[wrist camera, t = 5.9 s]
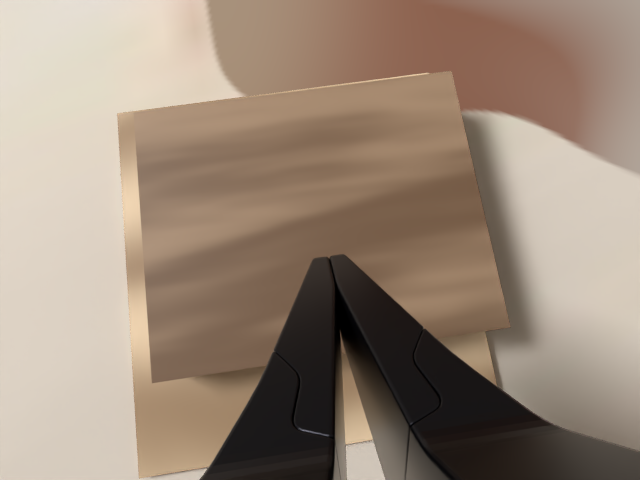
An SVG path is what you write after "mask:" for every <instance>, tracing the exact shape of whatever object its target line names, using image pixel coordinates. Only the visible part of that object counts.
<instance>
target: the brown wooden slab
mask: <svg viewBox="0 0 640 480" xmlns="http://www.w3.org/2000/svg"><path fill="white" fill-rule="evenodd" d="M134 127H135V142H136V156H137V171H138V186H139V201H140V216H141V230H142V245H143V260H144V275H145V289H146V304H147V319H148V334H149V349H150V363H151V378H152V383H158V382H164V381H170V380H177V379H183V378H190V377H196V376H202V375H209V374H215V373H222V372H228V371H234V370H241V369H247V368H254V367H260V366H266V365H267V363H268V361H269V359H270V356H271V354H272V352H274V351H273V350H274V347H275V345H276V343H277V340H278V338H279V336H280V333H281V331H282V329H283V327H284V324H285V322H286V320H287V317H288V315H289V313H290V310H291V308H292V306H293V303H294V301H295V299H296V296H297V294H298V292H299V289H300V287H301V285H302V283H303V280H304V278H305V276H306V273H307V271H308V269H309V266H310V264H311V262H312V260H313V259H314V258H318V257H325V256H327V257H328V258H329V257H330V256H332V255H339V254H345V255H346V256H347V257H348V258H350V259H351V260H352V261H353V262H354V263H355V264H356V265H357V266H358V267H359V268H360V269H361V270H363V271H364V272H365V273H366V274H367V275H368V276H369V277H370V278H371V279H372V280H373V281H375V282H376V283H377V284H378V285H379V286H380V287H381V288H382V289H383V290H384V291H385V292H386V293H388V294H389V295H390V296H391V297H392V298H393V299H394V300H395V301H396V302H397V303H398V304H399V305H401V306H402V307H403V308H404V309H405V310H406V311H407V312H408V313H409V314H410V315H411V316H413V317H414V318H415V319H416V320H417V321H418V322H419V323H420V324H421V325H422V326H423V327H424V329H427V330H428V331H429V332H430V333H431V334H432V335H433V336H434V337H435V338H437V339H439V338H446V337H452V336H458V335H465V334H471V333H478V332H484V331H490V330H497V329H503V328H510V322H509V318H508V314H507V309H506V305H505V301H504V296H503V292H502V288H501V283H500V279H499V275H498V270H497V266H496V262H495V257H494V253H493V249H492V244H491V240H490V236H489V231H488V227H487V223H486V218H485V214H484V210H483V205H482V201H481V197H480V193H479V188H478V184H477V180H476V175H475V171H474V167H473V162H472V158H471V154H470V149H469V145H468V141H467V136H466V132H465V128H464V123H463V119H462V115H461V110H460V106H459V102H458V97H457V93H456V89H455V84H454V80H453V76H452V71H447V72H440V73H432V74H424V75H416V76H409V77H401V78H393V79H386V80H378V81H370V82H363V83H355V84H347V85H340V86H332V87H324V88H317V89H309V90H302V91H294V92H286V93H279V94H271V95H263V96H256V97H248V98H240V99H233V100H225V101H217V102H210V103H202V104H194V105H187V106H179V107H171V108H164V109H156V110H149V111H141V112H134ZM340 336H341V333H340ZM341 351H342V354H343V353H346V352H345V349H344V345H343V342H342V338H341Z"/></svg>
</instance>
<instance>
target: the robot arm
mask: <svg viewBox="0 0 640 480" xmlns="http://www.w3.org/2000/svg"><path fill="white" fill-rule="evenodd" d="M340 333H341V336H340ZM341 338H342V342H343V345H344V349H345V352H346V355H347V358H348V361H349V364H350V368H351V371H352V374H353V377H354V380H355V384H356V387H357V390H358V393H359V396H360V400H361V403H362V406H363V409H364V412H365V415H366V419H367V422H368V425H369V428H370V431H371V435H372V438H373V441H374V444H375V447H376V451H377V454H378V457H379V460H380V463H381V466H382V470H383V473H384V476H385V479H386V480H640V451H637V450H633V449H630V448H627V447H623V446H620V445H616V444H613V443H610V442H606V441H603V440H600V439H596V438H593V437H590V436H586V435H583V434H580V433H576V432H573V431H570V430H567V429H564V428H561V427H559V426H557V425H554V424H553V423H551V422H549V421H547V420H545V419H543V418H541V417H540V416H538V415H536V414H535V413H533V412H532V411H530V410H529V409H527V408H526V407H525V406H523V405H522V404H520V403H519V402H518V401H516V400H515V399H514V398H512V397H511V396H510V395H508V394H507V393H506V392H504V391H503V390H502V389H500V388H499V387H497V386H496V385H495V384H493V383H492V382H491V381H489V380H488V379H487V378H485V377H484V376H483V375H481V374H480V373H479V372H477V371H476V370H475V369H473V368H472V367H471V366H469V365H468V364H467V363H465V362H464V361H463V360H462V359H460V358H459V357H458V356H456V355H455V354H454V353H453V352H451V351H450V350H449V349H448V348H447V347H446V346H445V345H443V344H442V343H441V342H440V341H439V340H438V339H437V338H435V337H434V336H433V335H432V334H431V333H430V332H429V331H428V330H427V329H424V327H423V326H422V325H421V324H420V323H419V322H418V321H417V320H416V319H415V318H414V317H413V316H411V315H410V314H409V313H408V312H407V311H406V310H405V309H404V308H403V307H402V306H401V305H399V304H398V303H397V302H396V301H395V300H394V299H393V298H392V297H391V296H390V295H389V294H388V293H386V292H385V291H384V290H383V289H382V288H381V287H380V286H379V285H378V284H377V283H376V282H375V281H373V280H372V279H371V278H370V277H369V276H368V275H367V274H366V273H365V272H364V271H363V270H361V269H360V268H359V267H358V266H357V265H356V264H355V263H354V262H353V261H352V260H351V259H350V258H348V257H347V256H346V255H345V254H339V255H332V256H330V257H329V258H328V257H327V256H325V257H318V258H314V259H313V260H312V262H311V264H310V266H309V269H308V271H307V273H306V276H305V278H304V280H303V283H302V285H301V287H300V289H299V292H298V294H297V296H296V299H295V301H294V303H293V306H292V308H291V310H290V313H289V315H288V317H287V320H286V322H285V324H284V327H283V329H282V331H281V333H280V336H279V338H278V340H277V343H276V345H275V347H274V350H273V351H274V352H272V354H271V356H270V359H269V361H268V363H267V366H266V368H265V370H264V372H263V374H262V376H261V378H260V380H259V382H258V384H257V386H256V388H255V390H254V392H253V393H252V395H251V397H250V399H249V401H248V402H247V404H246V406H245V408H244V409H243V411H242V413H241V414H240V416H239V418H238V419H237V421H236V423H235V424H234V426H233V428H232V429H231V431H230V433H229V435H228V436H227V438H226V440H225V441H224V443H223V445H222V446H221V448H220V450H219V451H218V453H217V455H216V456H215V458H214V460H213V461H212V463H211V464H210V466H209V468H208V469H207V470H206V472H205V473H204V475H203V476H202V477H201V478H200V480H347V468H346V445H345V421H344V398H343V374H342V351H341Z"/></svg>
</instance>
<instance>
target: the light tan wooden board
mask: <svg viewBox="0 0 640 480" xmlns="http://www.w3.org/2000/svg"><path fill="white" fill-rule="evenodd" d="M424 74H429V73H423V74H415V75H408V76H400V77H392V78H385V79H377V80H370V81H378V80H386V79H393V78H401V77H409V76H416V75H424ZM370 81H362V82H354V83H347V84H355V83H363V82H370ZM347 84H339V85H332V86H340V85H347ZM332 86H324V87H332ZM324 87H316V88H308V89H300V90H293V91H285V92H278V93H270V94H263V95H271V94H279V93H286V92H294V91H302V90H309V89H317V88H324ZM263 95H255V96H247V97H239V98H232V99H224V100H216V101H209V102H201V103H193V104H186V105H178V106H170V107H163V108H155V109H147V110H140V111H132V112H124V113H117V117H118V134H119V150H120V167H121V184H122V201H123V218H124V234H125V251H126V268H127V285H128V302H129V318H130V335H131V352H132V369H133V385H134V402H135V419H136V436H137V453H138V469H139V478H144V477H150V476H156V475H162V474H168V473H174V472H180V471H187V470H193V469H199V468H205V467H209V466H210V464H211V463H212V461H213V460H214V458H215V456H216V455H217V453H218V451H219V450H220V448H221V446H222V445H223V443H224V441H225V440H226V438H227V436H228V435H229V433H230V431H231V429H232V428H233V426H234V424H235V423H236V421H237V419H238V418H239V416H240V414H241V413H242V411H243V409H244V408H245V406H246V404H247V402H248V401H249V399H250V397H251V395H252V393H253V392H254V390H255V388H256V386H257V384H258V382H259V380H260V378H261V376H262V374H263V372H264V370H265V368H266V366H267V365H266V366H260V367H254V368H247V369H241V370H234V371H228V372H222V373H215V374H209V375H202V376H196V377H190V378H183V379H177V380H170V381H164V382H158V383H152V378H151V363H150V349H149V334H148V319H147V304H146V289H145V275H144V260H143V245H142V230H141V216H140V201H139V186H138V171H137V156H136V142H135V127H134V112H141V111H149V110H156V109H164V108H171V107H179V106H187V105H194V104H202V103H210V102H217V101H225V100H233V99H240V98H248V97H256V96H263ZM438 340H439V341H440V342H441V343H442V344H443V345H445V346H446V347H447V348H448V349H449V350H450V351H451V352H453V353H454V354H455V355H456V356H458V357H459V358H460V359H462V360H463V361H464V362H465V363H467V364H468V365H469V366H471V367H472V368H473V369H475V370H476V371H477V372H479V373H480V374H481V375H483V376H484V377H485V378H487V379H488V380H489V381H491V382H492V383H493V384H495V385H496V386H497V383H496V378H495V374H494V369H493V365H492V360H491V356H490V351H489V346H488V342H487V337H486V333H485V331H484V332H478V333H471V334H465V335H458V336H452V337H446V338H439V339H438ZM342 374H343V398H344V421H345V444H350V443H356V442H362V441H368V440H373V438H372V435H371V431H370V428H369V425H368V422H367V419H366V415H365V412H364V409H363V406H362V403H361V400H360V396H359V393H358V390H357V387H356V384H355V380H354V377H353V374H352V371H351V368H350V364H349V361H348V358H347V355H346V353H343V354H342Z"/></svg>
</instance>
